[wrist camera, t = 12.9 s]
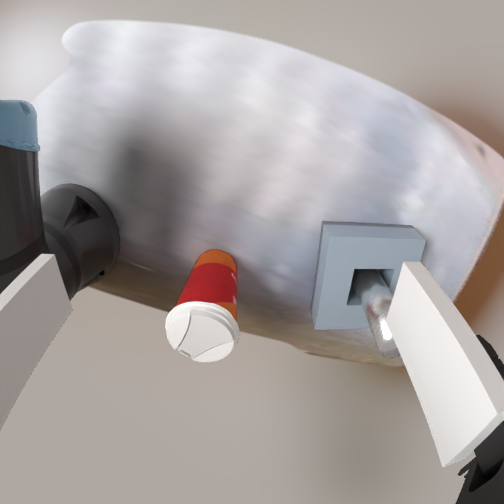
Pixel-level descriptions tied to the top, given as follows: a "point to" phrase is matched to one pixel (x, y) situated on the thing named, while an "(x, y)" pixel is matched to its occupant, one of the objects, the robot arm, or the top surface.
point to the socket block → (357, 267)
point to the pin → (376, 307)
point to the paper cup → (206, 310)
